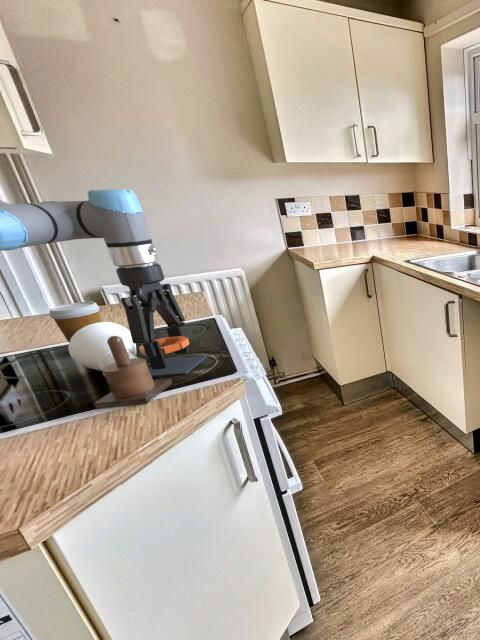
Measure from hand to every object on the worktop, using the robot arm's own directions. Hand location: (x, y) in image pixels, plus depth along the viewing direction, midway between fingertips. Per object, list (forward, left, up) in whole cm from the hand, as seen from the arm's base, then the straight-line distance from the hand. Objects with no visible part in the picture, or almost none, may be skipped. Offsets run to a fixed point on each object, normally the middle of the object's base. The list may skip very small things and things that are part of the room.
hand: (171, 360), depth 99 cm
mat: (0, 0, -2) cm, 2 cm away
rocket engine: (-11, -2, -2) cm, 11 cm away
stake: (0, -14, -2) cm, 14 cm away
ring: (0, 0, +3) cm, 3 cm away
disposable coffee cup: (-30, +20, -2) cm, 36 cm away
